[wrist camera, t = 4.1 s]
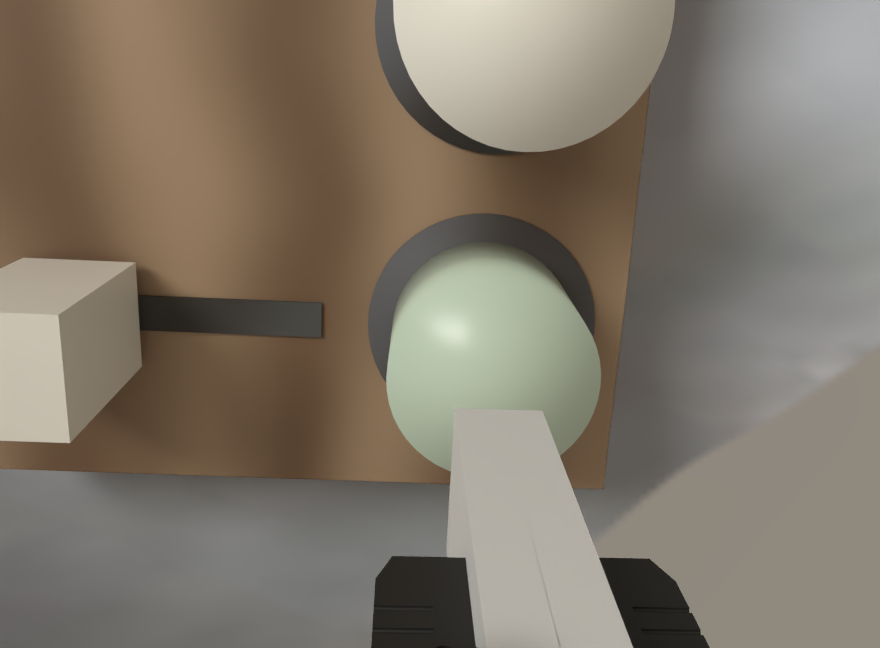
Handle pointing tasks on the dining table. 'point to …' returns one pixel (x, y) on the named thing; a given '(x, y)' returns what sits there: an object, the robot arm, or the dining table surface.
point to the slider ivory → (64, 344)
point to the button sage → (488, 347)
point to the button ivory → (532, 64)
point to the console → (278, 224)
